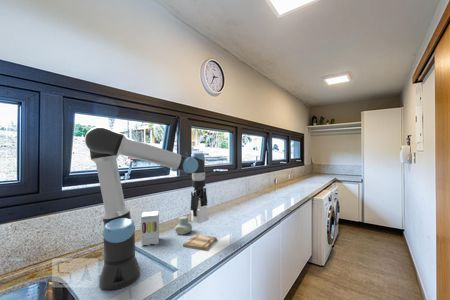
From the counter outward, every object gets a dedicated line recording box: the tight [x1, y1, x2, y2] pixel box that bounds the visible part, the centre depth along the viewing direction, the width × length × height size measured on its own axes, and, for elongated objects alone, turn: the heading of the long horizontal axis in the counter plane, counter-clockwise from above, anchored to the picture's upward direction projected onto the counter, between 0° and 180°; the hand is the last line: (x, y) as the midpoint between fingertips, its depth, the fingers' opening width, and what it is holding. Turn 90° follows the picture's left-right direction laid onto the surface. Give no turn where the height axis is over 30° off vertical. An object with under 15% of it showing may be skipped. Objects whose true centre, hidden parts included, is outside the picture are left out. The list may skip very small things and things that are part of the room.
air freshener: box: [174, 215, 193, 236], centre depth 132 cm, size 11×8×10 cm
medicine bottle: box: [190, 198, 210, 224], centre depth 116 cm, size 7×7×12 cm
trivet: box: [182, 233, 217, 252], centre depth 116 cm, size 14×14×2 cm
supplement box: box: [140, 210, 160, 246], centre depth 119 cm, size 10×9×17 cm
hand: (199, 219), depth 116 cm, fingers closed on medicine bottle, 8 cm apart
